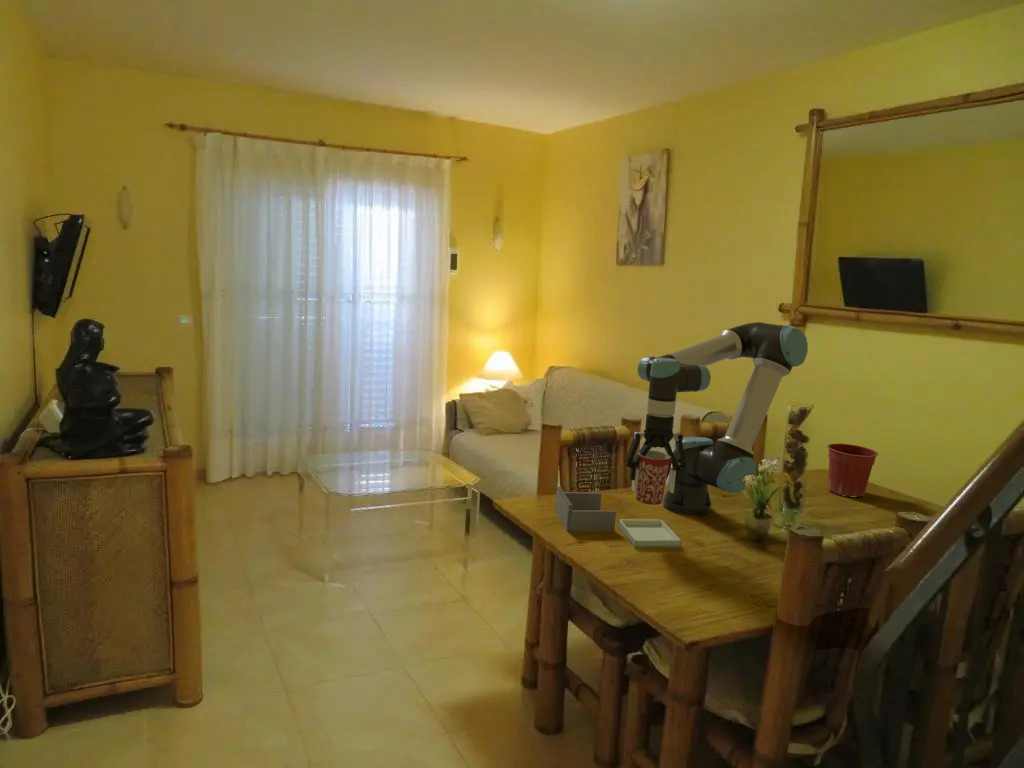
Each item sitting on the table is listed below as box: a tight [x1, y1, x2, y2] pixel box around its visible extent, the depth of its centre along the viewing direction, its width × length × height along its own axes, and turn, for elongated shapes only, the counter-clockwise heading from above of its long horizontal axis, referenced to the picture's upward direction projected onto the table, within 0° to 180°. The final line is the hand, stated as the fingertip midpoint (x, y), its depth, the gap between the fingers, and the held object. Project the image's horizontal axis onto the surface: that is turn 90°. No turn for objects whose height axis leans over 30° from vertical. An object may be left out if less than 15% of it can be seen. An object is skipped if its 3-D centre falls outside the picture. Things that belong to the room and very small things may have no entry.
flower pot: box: [827, 443, 879, 496], centre depth 260 cm, size 16×16×16 cm
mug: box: [635, 449, 672, 506], centre depth 205 cm, size 13×9×14 cm
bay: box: [554, 486, 617, 532], centre depth 217 cm, size 14×17×8 cm
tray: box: [617, 518, 682, 549], centre depth 208 cm, size 13×16×2 cm
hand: (652, 491), depth 205 cm, fingers closed on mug, 10 cm apart
